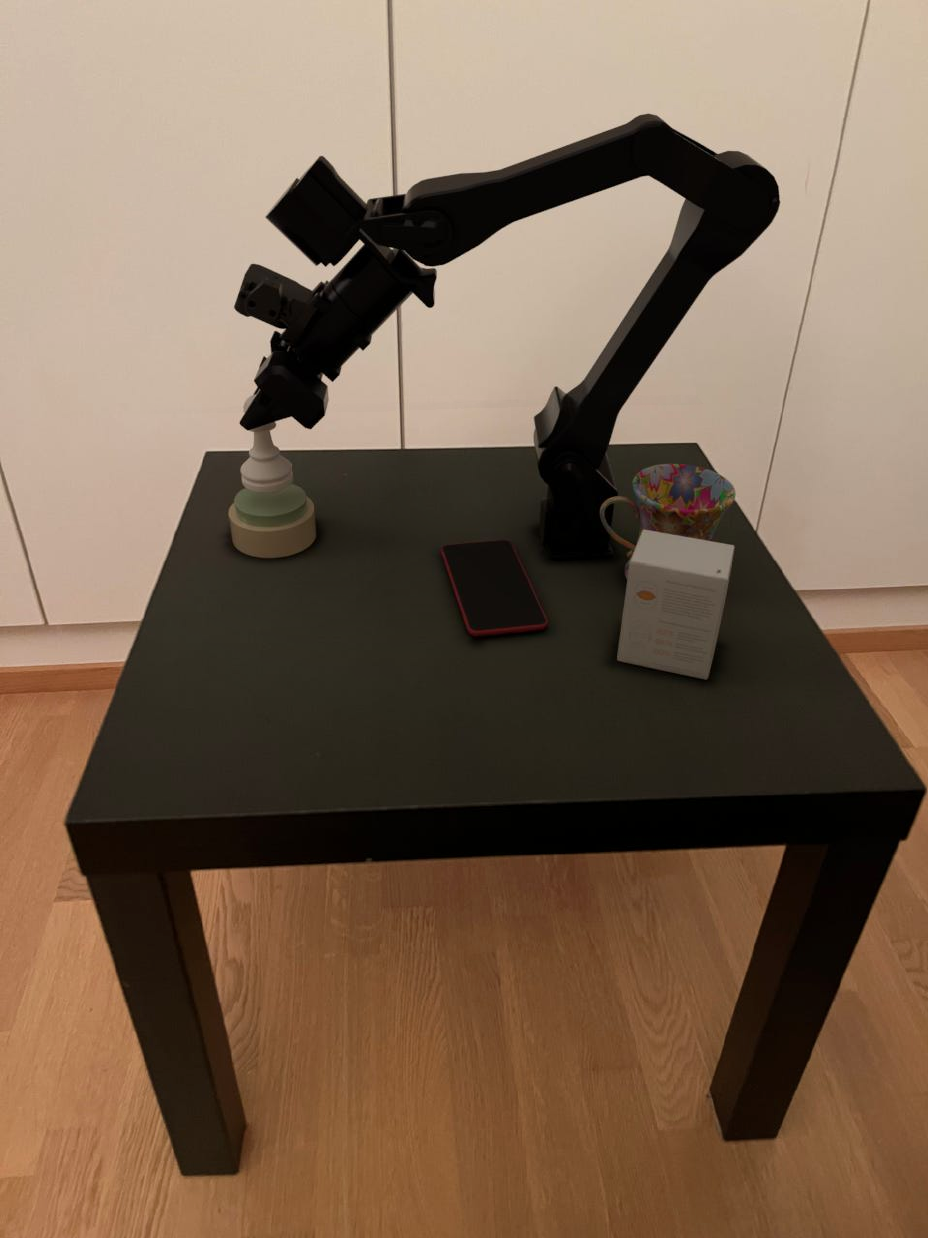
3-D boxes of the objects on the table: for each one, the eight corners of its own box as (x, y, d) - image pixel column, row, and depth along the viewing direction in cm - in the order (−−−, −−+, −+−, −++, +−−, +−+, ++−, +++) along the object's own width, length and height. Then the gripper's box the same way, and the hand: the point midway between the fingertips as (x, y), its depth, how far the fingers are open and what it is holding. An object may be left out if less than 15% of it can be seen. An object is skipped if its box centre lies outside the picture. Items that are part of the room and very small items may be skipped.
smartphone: (469, 633, 84) (439, 544, 96) (469, 641, 84) (439, 552, 96) (550, 624, 85) (510, 538, 97) (549, 632, 86) (510, 545, 97)
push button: (316, 514, 102) (313, 476, 100) (316, 556, 95) (312, 517, 93) (235, 517, 101) (230, 479, 99) (228, 560, 94) (223, 521, 92)
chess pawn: (271, 465, 97) (261, 380, 91) (304, 480, 94) (295, 394, 89) (231, 482, 94) (218, 395, 88) (263, 498, 91) (252, 410, 86)
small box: (715, 645, 85) (738, 544, 78) (707, 682, 80) (730, 579, 74) (627, 626, 87) (642, 526, 81) (614, 662, 82) (629, 559, 76)
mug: (704, 558, 96) (723, 463, 90) (724, 611, 89) (746, 512, 83) (587, 556, 96) (597, 461, 90) (596, 608, 89) (609, 509, 83)
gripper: (298, 209, 88) (197, 326, 94) (268, 266, 73) (149, 402, 79) (386, 295, 93) (284, 402, 99) (375, 366, 77) (256, 486, 84)
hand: (246, 419), depth 90 cm, fingers closed on chess pawn, 3 cm apart
